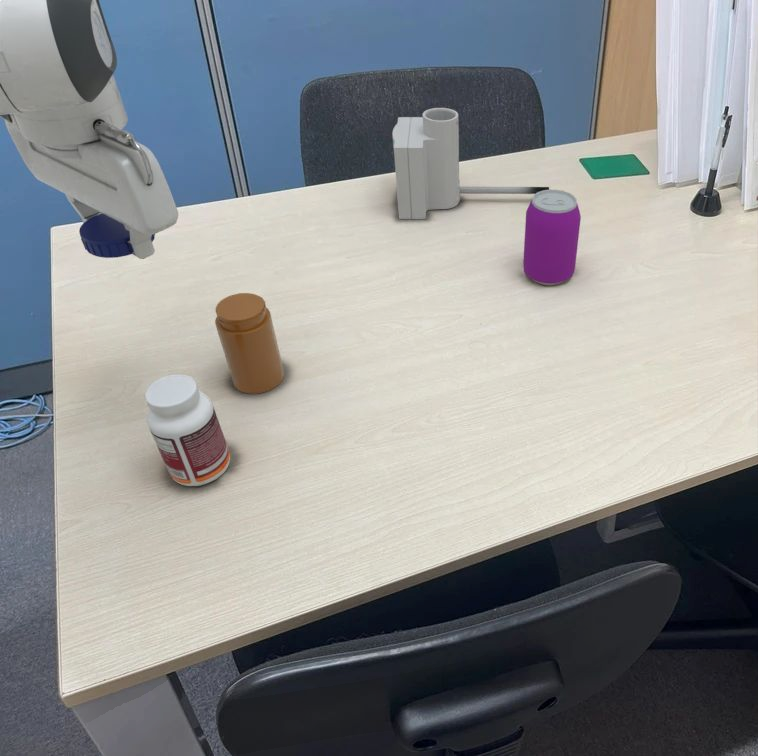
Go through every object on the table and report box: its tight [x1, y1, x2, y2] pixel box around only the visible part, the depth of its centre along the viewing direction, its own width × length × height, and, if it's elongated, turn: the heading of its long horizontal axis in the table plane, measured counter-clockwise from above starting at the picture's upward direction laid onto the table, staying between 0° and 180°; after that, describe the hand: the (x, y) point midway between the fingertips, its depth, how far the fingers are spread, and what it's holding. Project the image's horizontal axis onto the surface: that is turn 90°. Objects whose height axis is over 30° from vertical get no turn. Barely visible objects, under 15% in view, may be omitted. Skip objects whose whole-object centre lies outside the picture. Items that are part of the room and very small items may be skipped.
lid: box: [78, 213, 156, 259], centre depth 72 cm, size 7×7×2 cm
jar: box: [214, 292, 285, 395], centre depth 82 cm, size 6×6×11 cm
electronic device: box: [392, 107, 550, 220], centre depth 116 cm, size 12×26×15 cm, turn 93°
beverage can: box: [522, 189, 582, 286], centre depth 101 cm, size 8×8×12 cm
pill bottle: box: [144, 373, 231, 487], centre depth 71 cm, size 6×6×11 cm
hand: (120, 242), depth 73 cm, fingers closed on lid, 6 cm apart
